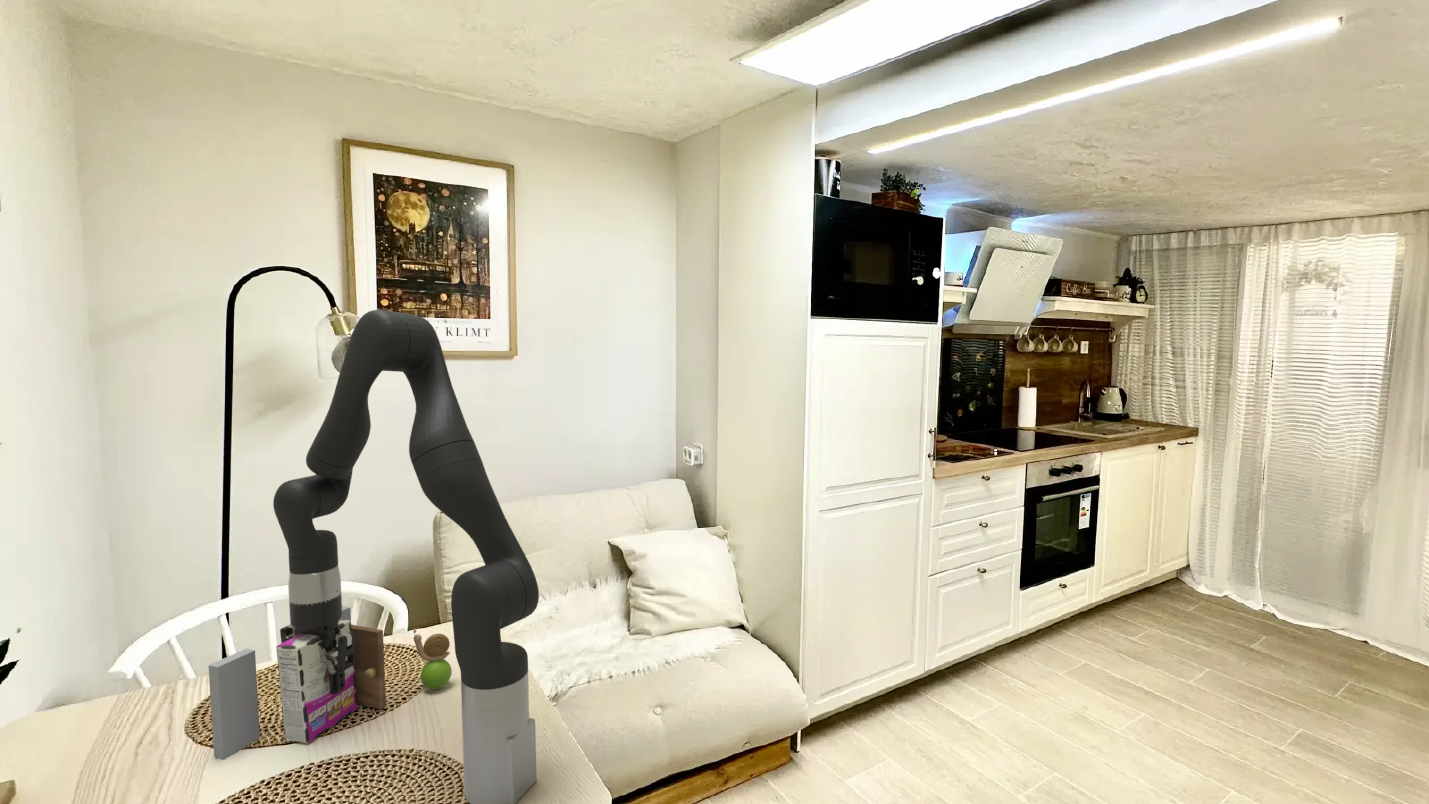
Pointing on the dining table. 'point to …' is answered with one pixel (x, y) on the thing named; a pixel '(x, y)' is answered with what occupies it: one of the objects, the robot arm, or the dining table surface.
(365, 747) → the dining table surface
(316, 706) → the candy bar box
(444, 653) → the snail figurine
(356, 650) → the door
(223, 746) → the door frame
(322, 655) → the robot arm
